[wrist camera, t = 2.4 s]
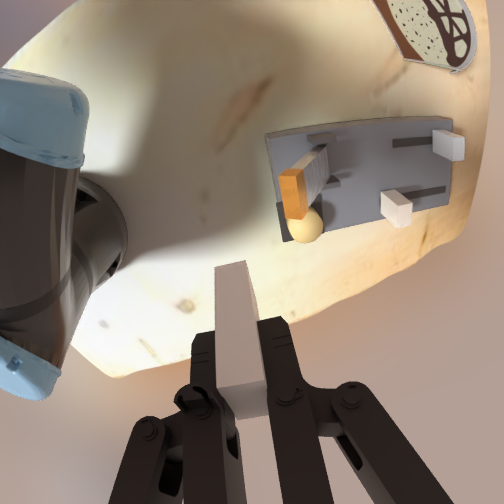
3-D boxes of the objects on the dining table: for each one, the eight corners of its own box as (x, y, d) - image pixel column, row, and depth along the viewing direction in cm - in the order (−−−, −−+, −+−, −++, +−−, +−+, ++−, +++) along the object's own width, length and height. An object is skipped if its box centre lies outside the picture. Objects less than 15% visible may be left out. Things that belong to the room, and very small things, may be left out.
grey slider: (432, 151, 28) (453, 161, 25) (432, 129, 27) (453, 137, 24) (443, 150, 28) (464, 160, 25) (443, 129, 27) (464, 137, 23)
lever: (320, 175, 29) (285, 219, 23) (316, 141, 27) (278, 174, 21) (333, 176, 29) (302, 221, 22) (329, 141, 27) (295, 175, 20)
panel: (278, 229, 36) (286, 251, 32) (259, 135, 29) (267, 144, 25) (436, 195, 36) (457, 211, 31) (438, 116, 29) (463, 124, 25)
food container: (438, 58, 24) (492, 63, 16) (408, 70, 26) (463, 75, 17) (396, -23, 18) (445, -40, 10) (360, -16, 20) (407, -38, 11)
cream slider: (380, 212, 32) (396, 228, 29) (380, 191, 31) (398, 205, 28) (394, 210, 32) (410, 225, 29) (394, 189, 31) (412, 202, 27)
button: (288, 236, 33) (292, 246, 31) (283, 208, 31) (288, 217, 29) (318, 229, 33) (324, 239, 31) (315, 201, 31) (321, 209, 29)
